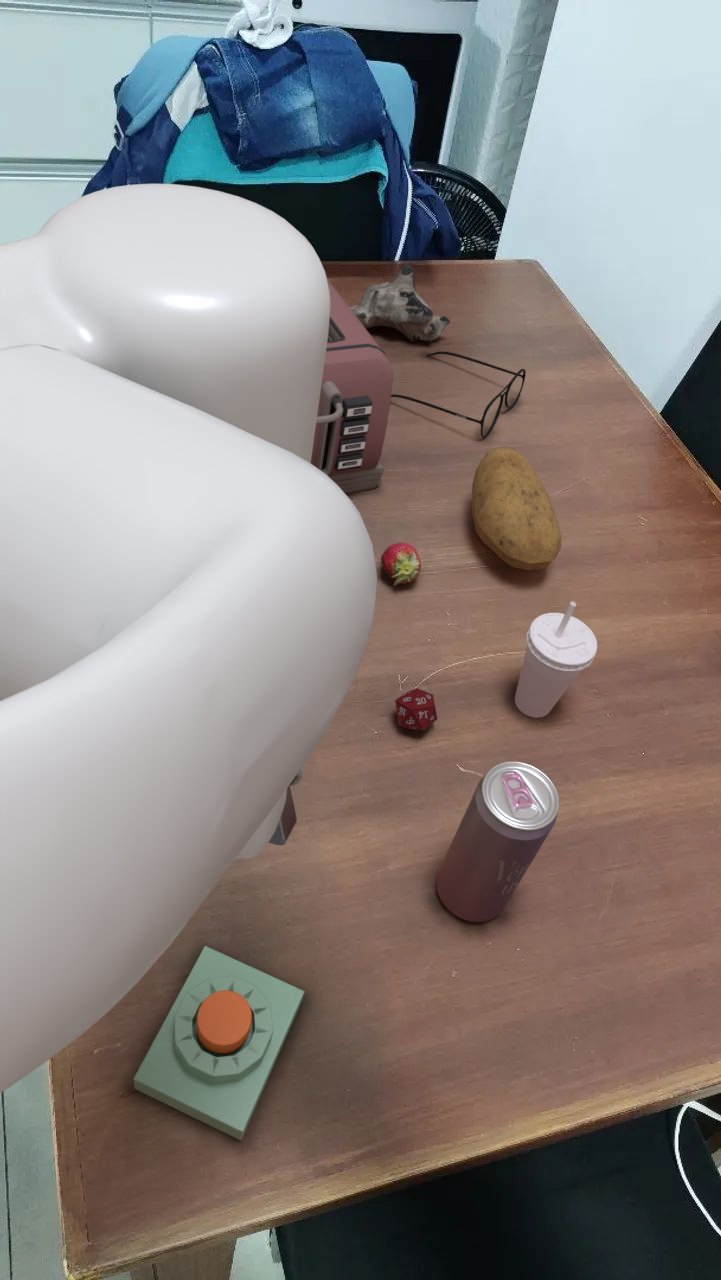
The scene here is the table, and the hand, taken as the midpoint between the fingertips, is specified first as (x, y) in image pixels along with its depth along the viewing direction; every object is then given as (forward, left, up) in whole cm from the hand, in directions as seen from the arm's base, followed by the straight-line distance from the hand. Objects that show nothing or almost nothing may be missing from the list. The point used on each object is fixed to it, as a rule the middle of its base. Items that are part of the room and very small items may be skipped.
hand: (177, 855), depth 44 cm
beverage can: (+20, -16, -27) cm, 37 cm away
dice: (+34, -6, -27) cm, 44 cm away
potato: (+63, -7, -27) cm, 69 cm away
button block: (+1, -3, -27) cm, 27 cm away
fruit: (+52, +2, -27) cm, 59 cm away
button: (+1, -3, -23) cm, 24 cm away
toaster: (+64, +29, -27) cm, 75 cm away
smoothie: (+42, -16, -27) cm, 52 cm away
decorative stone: (+99, +20, -27) cm, 105 cm away
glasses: (+88, +7, -27) cm, 92 cm away
